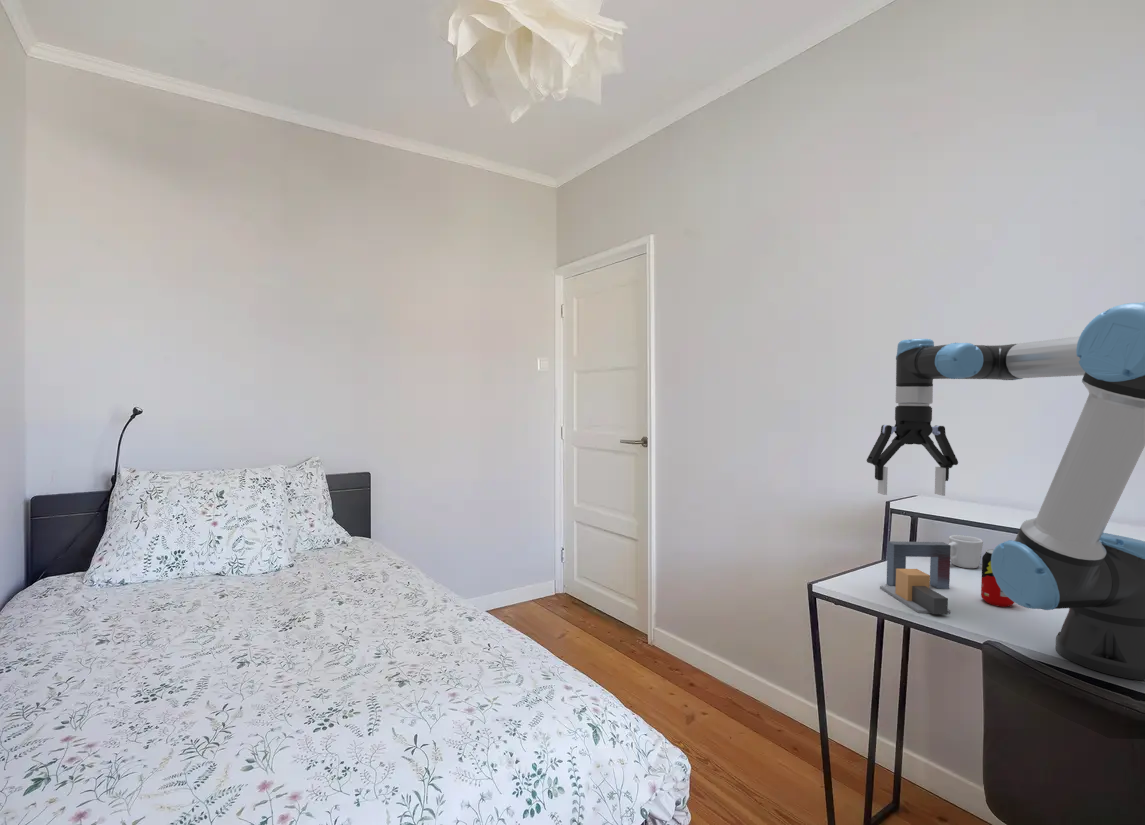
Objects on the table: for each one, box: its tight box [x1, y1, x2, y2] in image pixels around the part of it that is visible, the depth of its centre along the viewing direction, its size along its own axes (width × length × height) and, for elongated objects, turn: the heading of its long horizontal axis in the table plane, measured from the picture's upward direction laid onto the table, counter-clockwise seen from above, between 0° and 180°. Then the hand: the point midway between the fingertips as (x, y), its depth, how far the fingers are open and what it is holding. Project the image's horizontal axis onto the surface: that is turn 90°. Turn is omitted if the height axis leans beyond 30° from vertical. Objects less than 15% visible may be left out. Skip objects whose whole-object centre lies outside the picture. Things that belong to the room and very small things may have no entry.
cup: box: [947, 534, 984, 569], centre depth 160 cm, size 11×8×8 cm
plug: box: [895, 568, 949, 615], centre depth 129 cm, size 13×5×6 cm, turn 179°
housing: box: [886, 541, 951, 590], centre depth 143 cm, size 3×14×11 cm, turn 89°
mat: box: [879, 585, 951, 615], centre depth 133 cm, size 16×7×1 cm, turn 179°
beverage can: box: [980, 548, 1015, 608], centre depth 131 cm, size 6×6×12 cm
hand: (911, 494), depth 134 cm, fingers open, 13 cm apart
